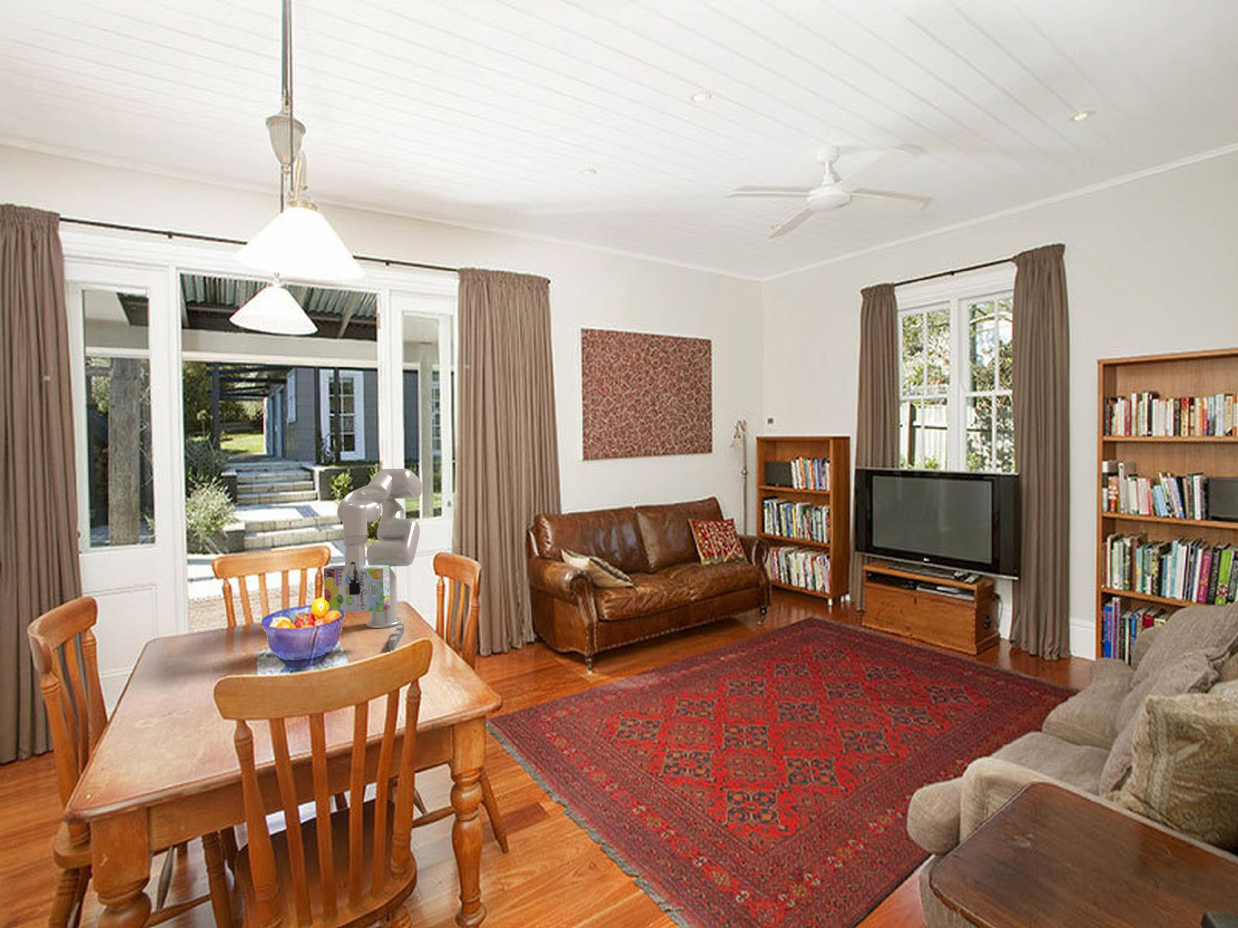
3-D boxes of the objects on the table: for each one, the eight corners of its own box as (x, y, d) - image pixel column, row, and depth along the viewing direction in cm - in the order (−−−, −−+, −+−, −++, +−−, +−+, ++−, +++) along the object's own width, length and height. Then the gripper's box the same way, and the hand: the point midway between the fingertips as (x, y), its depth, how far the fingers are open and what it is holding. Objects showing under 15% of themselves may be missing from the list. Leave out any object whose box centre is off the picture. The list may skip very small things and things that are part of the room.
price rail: (399, 632, 232) (399, 623, 231) (404, 631, 232) (404, 623, 232) (388, 651, 210) (388, 641, 210) (394, 650, 210) (394, 641, 210)
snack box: (391, 607, 219) (389, 564, 218) (383, 612, 213) (382, 568, 212) (332, 606, 221) (331, 564, 220) (323, 611, 215) (322, 567, 214)
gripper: (350, 536, 224) (351, 586, 225) (337, 544, 207) (339, 598, 207) (372, 535, 225) (373, 585, 226) (361, 543, 208) (363, 597, 209)
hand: (357, 591), depth 217 cm, fingers closed on snack box, 6 cm apart
